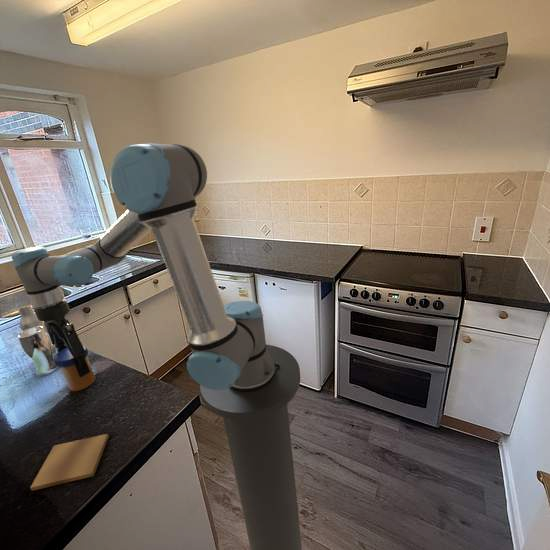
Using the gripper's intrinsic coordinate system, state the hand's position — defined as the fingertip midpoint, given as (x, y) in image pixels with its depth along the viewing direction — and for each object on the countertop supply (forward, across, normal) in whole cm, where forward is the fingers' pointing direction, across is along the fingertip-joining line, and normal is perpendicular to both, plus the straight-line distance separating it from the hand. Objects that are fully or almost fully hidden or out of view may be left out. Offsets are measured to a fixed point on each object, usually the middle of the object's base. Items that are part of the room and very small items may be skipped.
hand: (77, 369), depth 90 cm
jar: (+5, 0, 0) cm, 5 cm away
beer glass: (+5, +18, +3) cm, 19 cm away
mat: (+5, -27, +14) cm, 31 cm away
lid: (-6, 0, 0) cm, 6 cm away
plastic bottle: (+5, +27, 0) cm, 27 cm away
